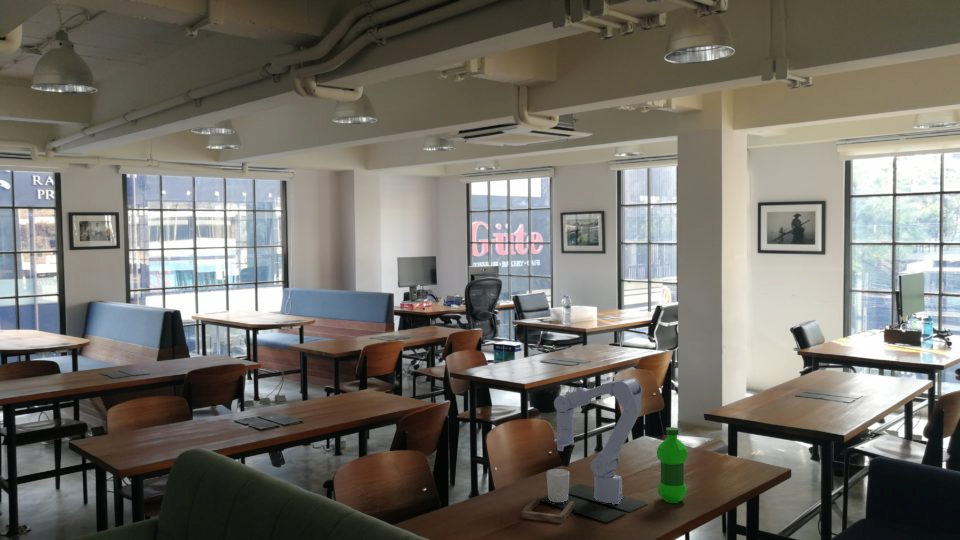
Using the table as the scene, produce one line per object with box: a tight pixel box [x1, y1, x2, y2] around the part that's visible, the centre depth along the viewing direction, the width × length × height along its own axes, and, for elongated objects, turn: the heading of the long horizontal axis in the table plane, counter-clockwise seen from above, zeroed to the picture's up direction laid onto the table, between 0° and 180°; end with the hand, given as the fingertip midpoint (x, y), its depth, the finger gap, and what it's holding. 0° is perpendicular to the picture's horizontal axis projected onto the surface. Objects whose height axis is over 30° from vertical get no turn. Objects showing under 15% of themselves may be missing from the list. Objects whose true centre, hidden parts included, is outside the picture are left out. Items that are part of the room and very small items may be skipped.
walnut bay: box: [521, 496, 576, 524], centre depth 257 cm, size 14×16×2 cm
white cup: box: [546, 468, 570, 502], centre depth 268 cm, size 8×8×10 cm
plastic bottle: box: [656, 426, 689, 504], centre depth 266 cm, size 10×10×25 cm
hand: (565, 465), depth 277 cm, fingers closed
